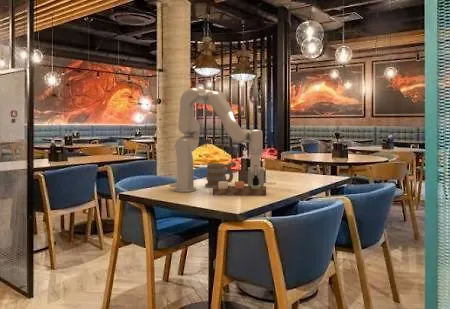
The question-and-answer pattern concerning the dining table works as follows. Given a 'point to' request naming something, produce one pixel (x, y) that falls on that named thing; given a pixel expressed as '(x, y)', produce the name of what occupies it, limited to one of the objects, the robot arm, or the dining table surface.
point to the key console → (239, 191)
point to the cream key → (223, 184)
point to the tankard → (218, 173)
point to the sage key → (255, 187)
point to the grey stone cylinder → (260, 176)
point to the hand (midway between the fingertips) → (255, 185)
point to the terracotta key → (239, 184)
